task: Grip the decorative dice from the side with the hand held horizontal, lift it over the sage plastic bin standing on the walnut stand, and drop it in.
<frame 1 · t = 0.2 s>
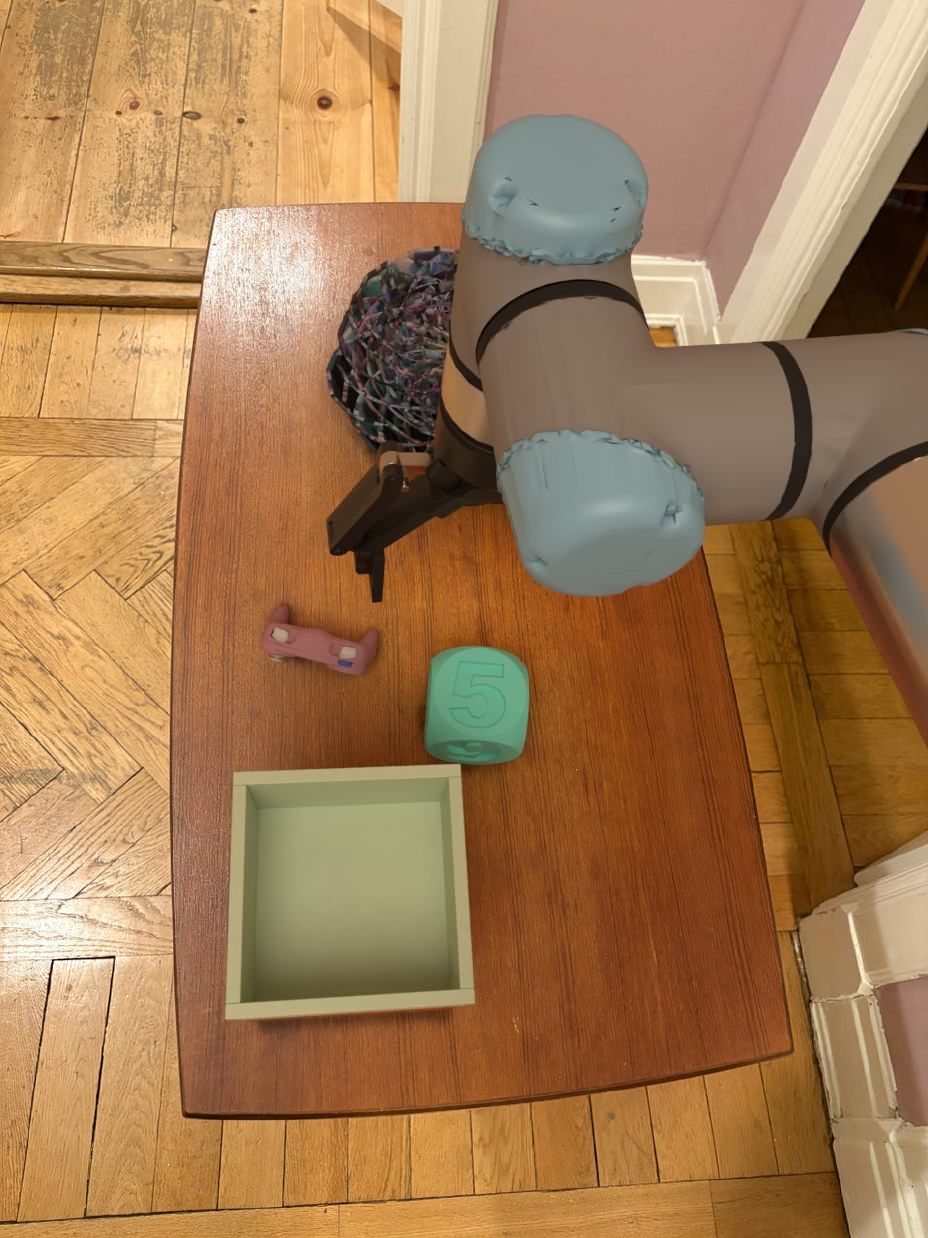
hand: (465, 578, 71), 16 cm above the table, tool pointing down, fingers open, 13 cm apart
video game controller: (321, 652, 85), on the table
decorative dice: (470, 721, 84), on the table
bin: (351, 900, 62), resting on stand
decorative bowl: (456, 410, 97), on the table
stand: (354, 924, 76), on the table
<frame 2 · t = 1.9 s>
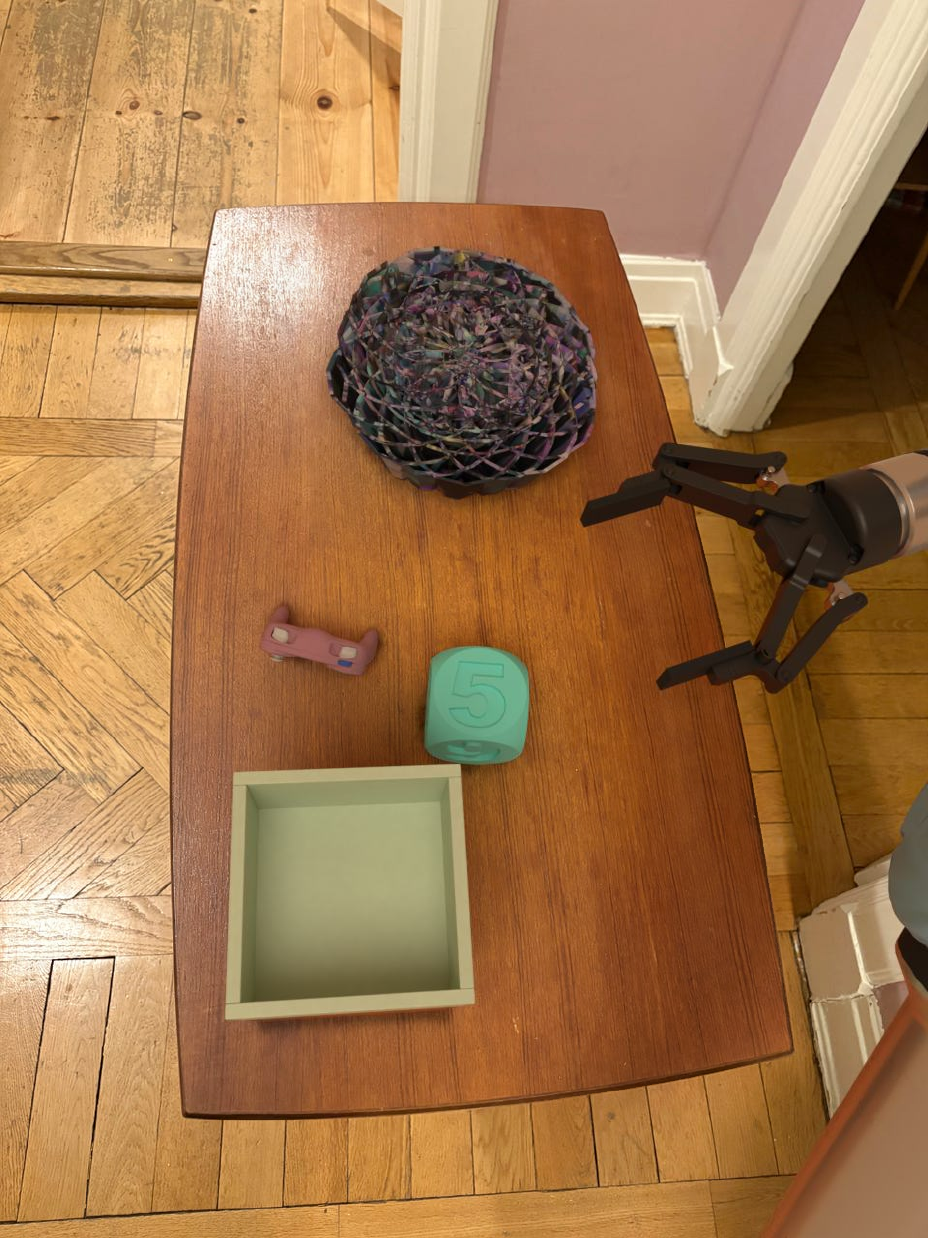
hand: (622, 594, 68), 20 cm above the table, tool horizontal, fingers open, 13 cm apart
nothing on the table moved.
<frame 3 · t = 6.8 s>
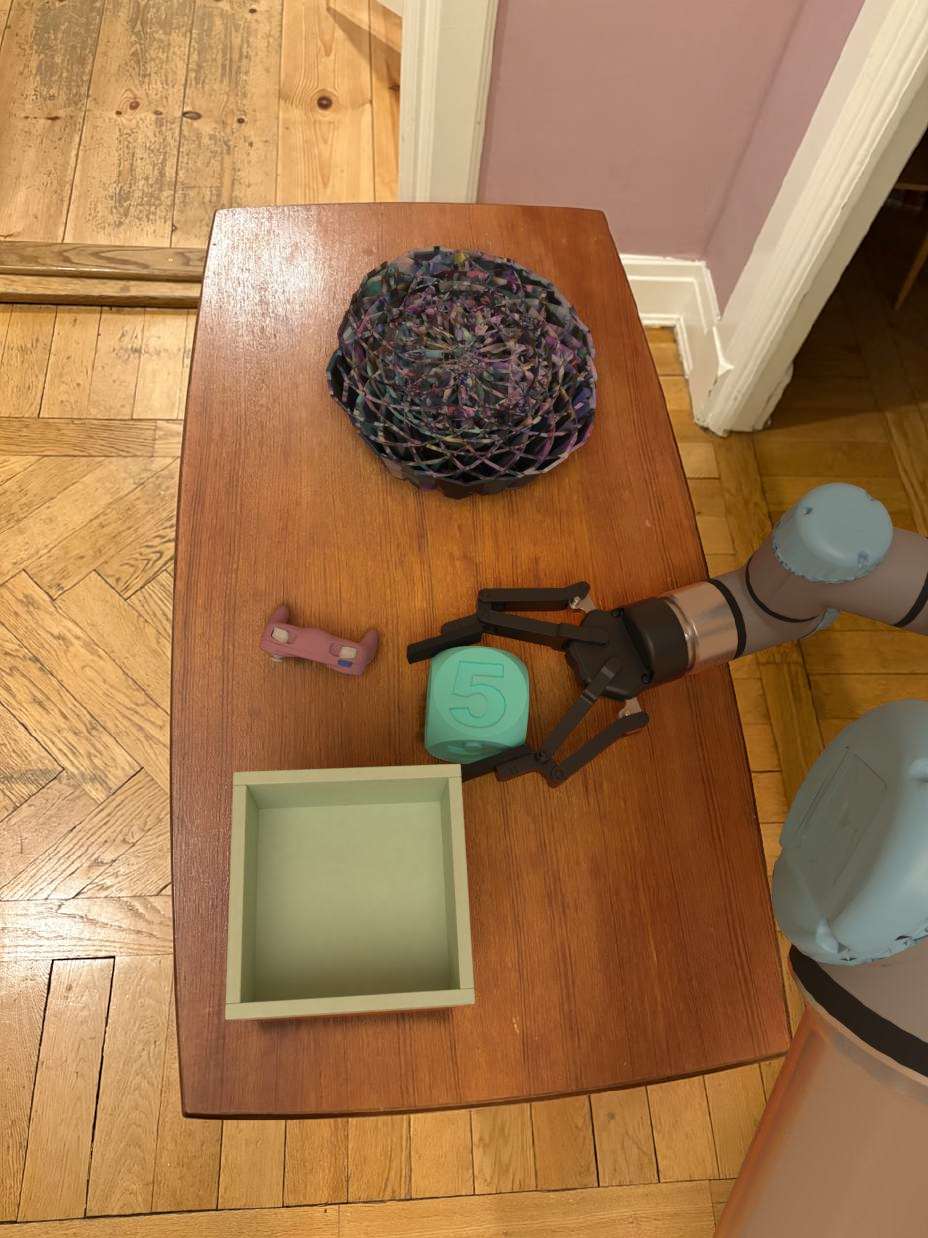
hand: (430, 715, 77), 6 cm above the table, tool horizontal, fingers closed on decorative dice, 10 cm apart
decorative dice: (470, 721, 84), on the table, touching gripper
everything else where it was.
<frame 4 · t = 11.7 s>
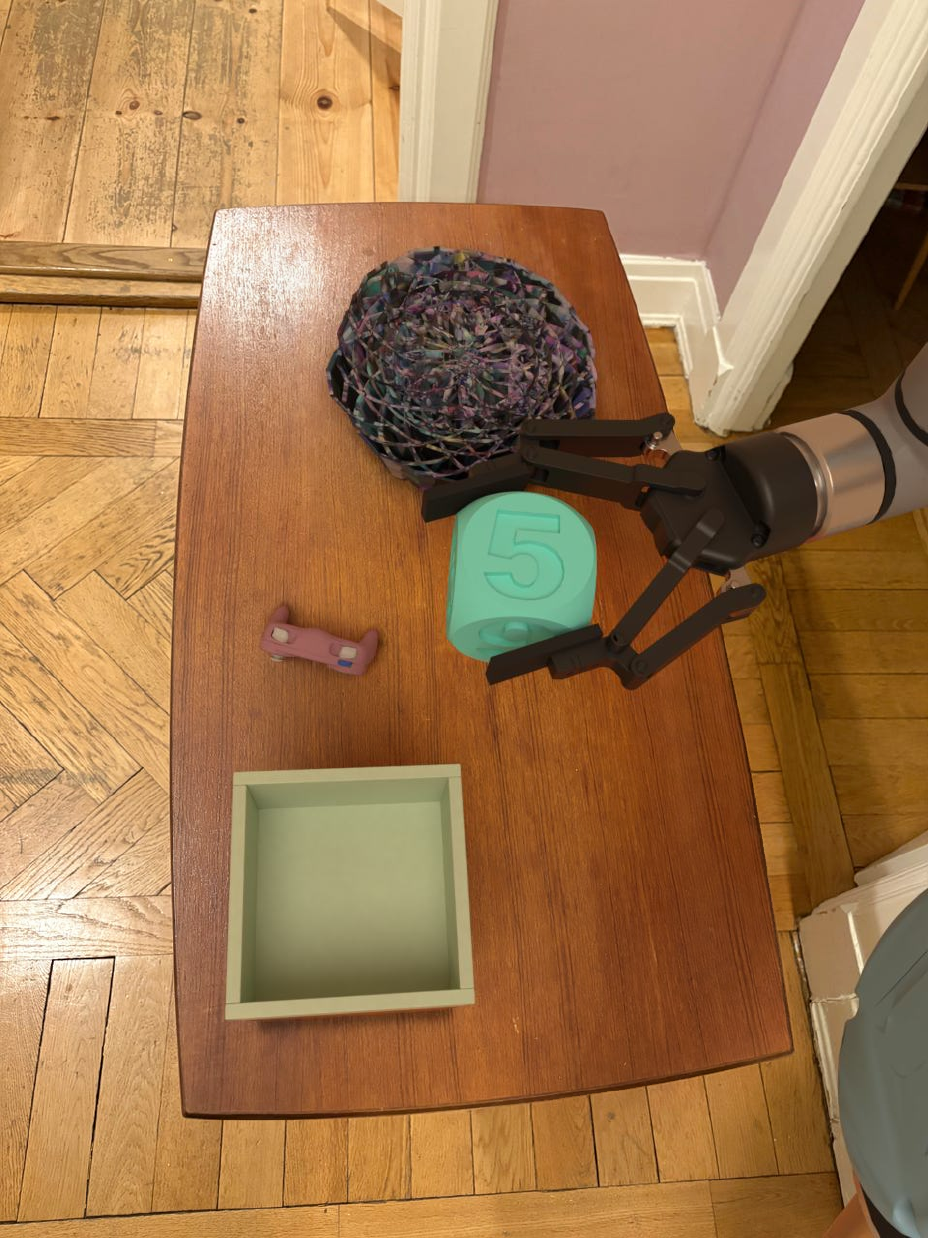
hand: (455, 586, 55), 31 cm above the table, tool horizontal, fingers closed on decorative dice, 10 cm apart
decorative dice: (507, 609, 61), point 25 cm above the table, touching gripper
everything else where it was.
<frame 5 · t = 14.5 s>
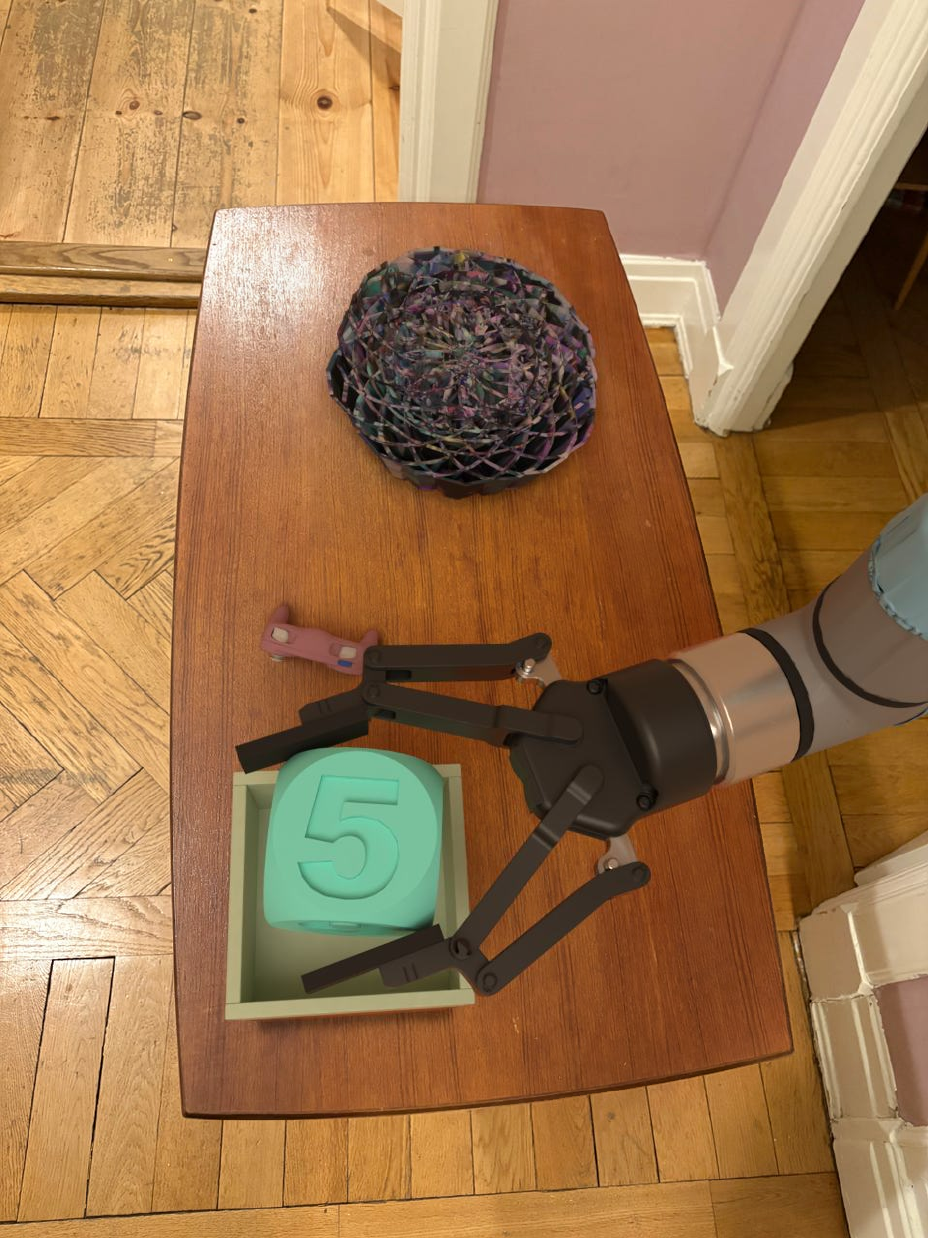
hand: (270, 868, 45), 34 cm above the table, tool horizontal, fingers closed on decorative dice, 10 cm apart
decorative dice: (356, 859, 51), point 28 cm above the table, touching gripper
everything else where it was.
when the fingers open (28 cm above the table, at t = 16.8 s): decorative dice drops 5 cm, resting on bin.
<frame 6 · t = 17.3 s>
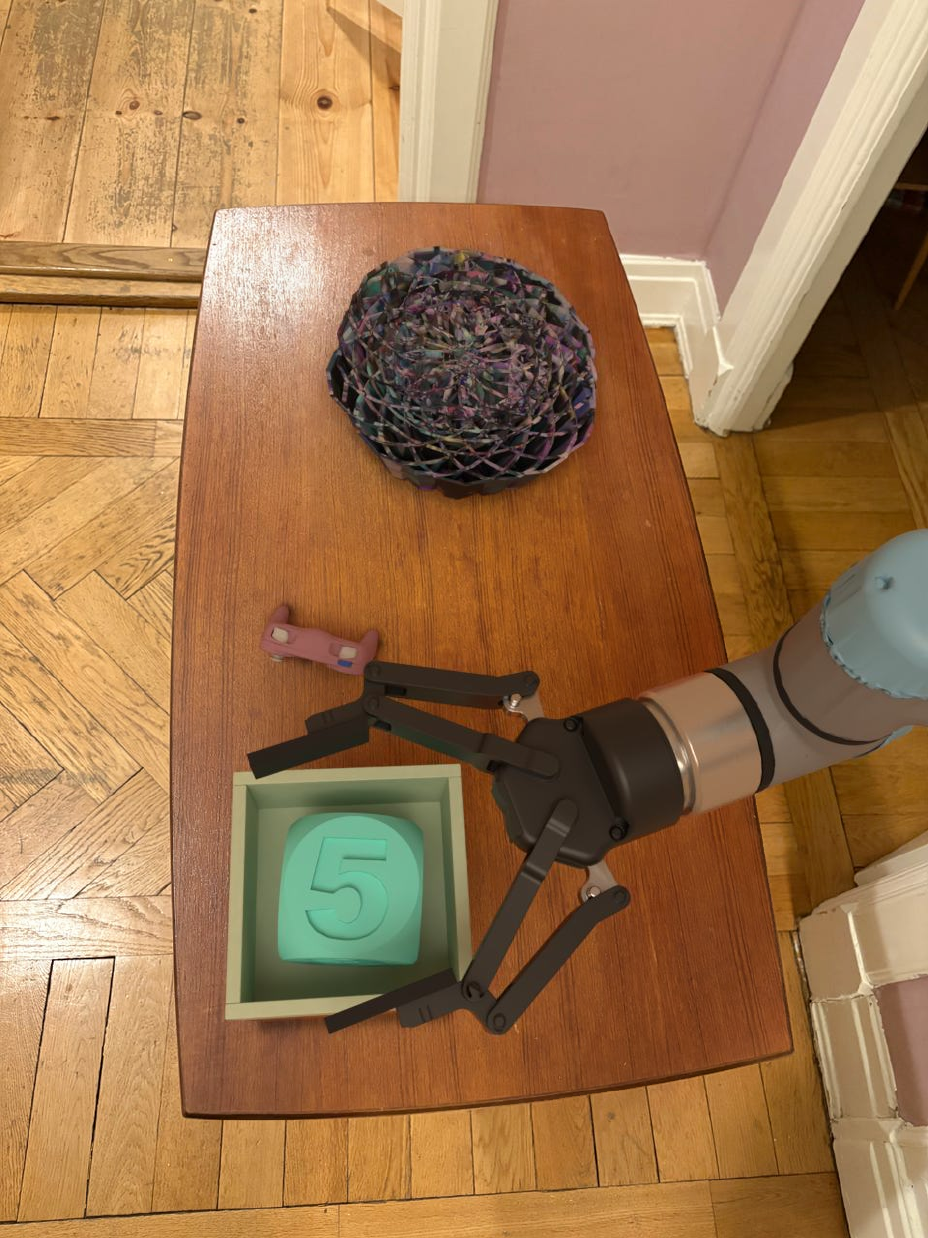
hand: (286, 890, 48), 30 cm above the table, tool horizontal, fingers open, 13 cm apart
decorative dice: (353, 900, 61), point 17 cm above the table, touching bin
everything else where it was.
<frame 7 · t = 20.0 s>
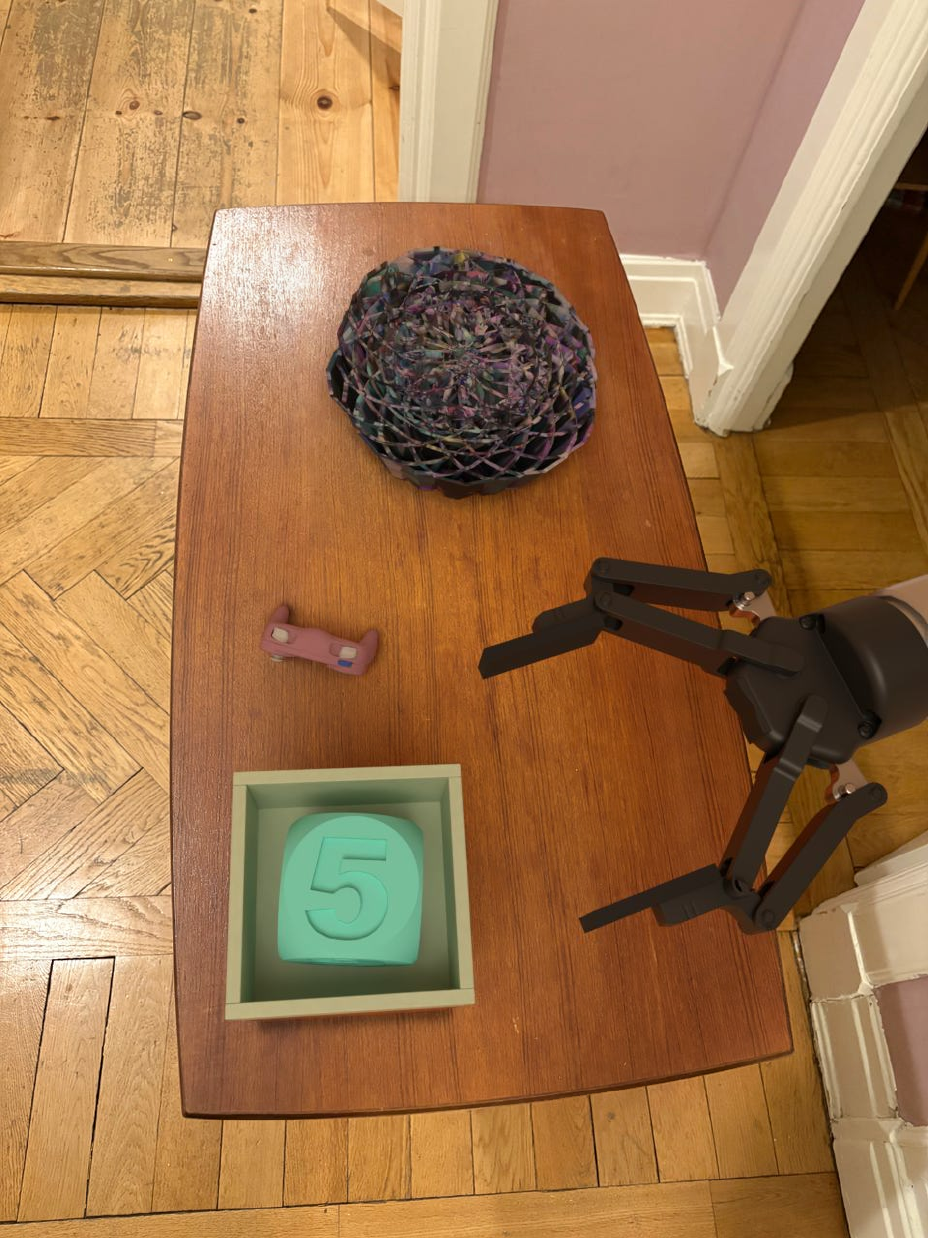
hand: (531, 787, 47), 35 cm above the table, tool horizontal, fingers open, 13 cm apart
nothing on the table moved.
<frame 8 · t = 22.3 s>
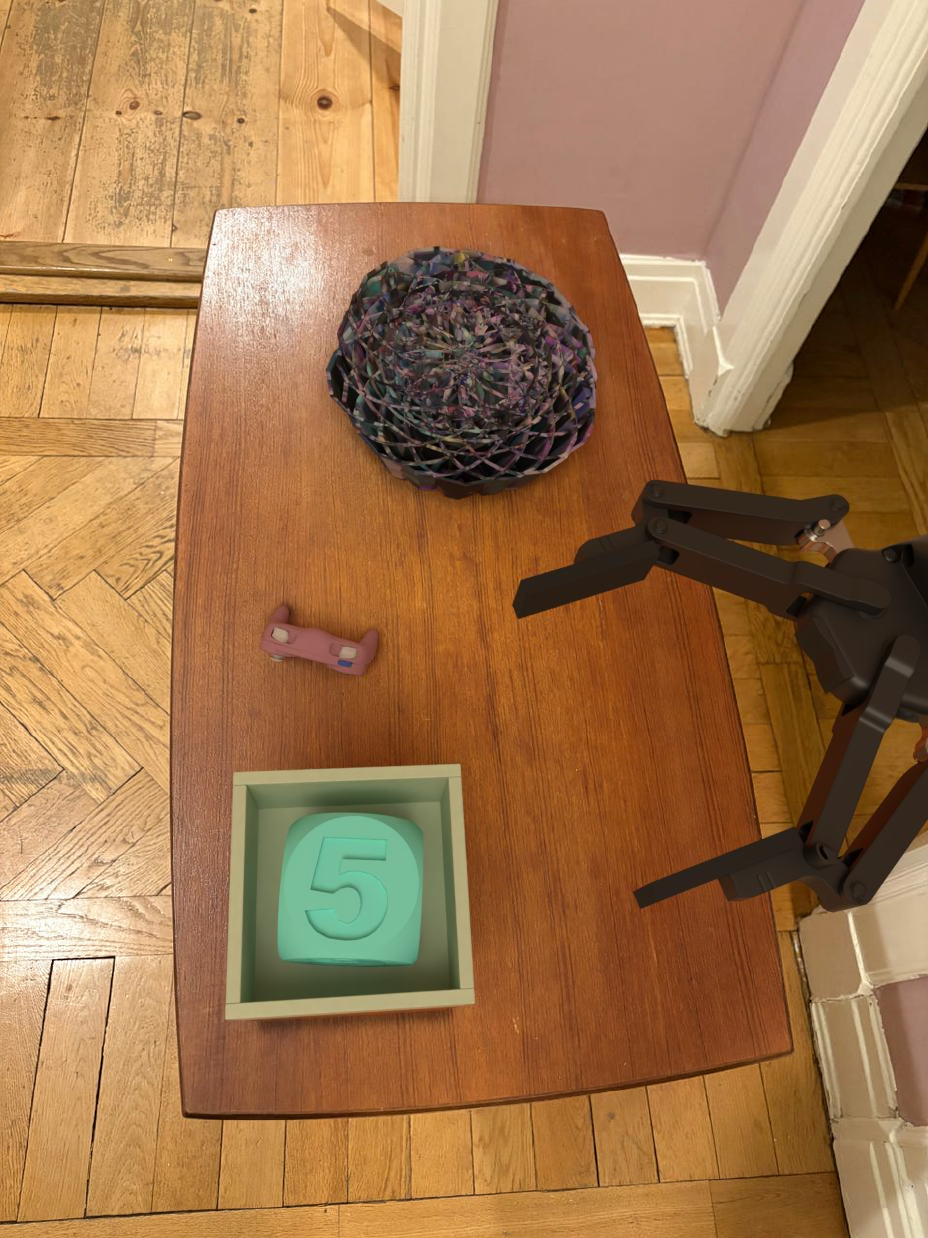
hand: (577, 740, 40), 42 cm above the table, tool horizontal, fingers open, 13 cm apart
nothing on the table moved.
at the end: decorative dice inside the target area on the bin (0.2 cm from its centre), point 0.6 cm above the bin's base; the gripper is holding nothing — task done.
